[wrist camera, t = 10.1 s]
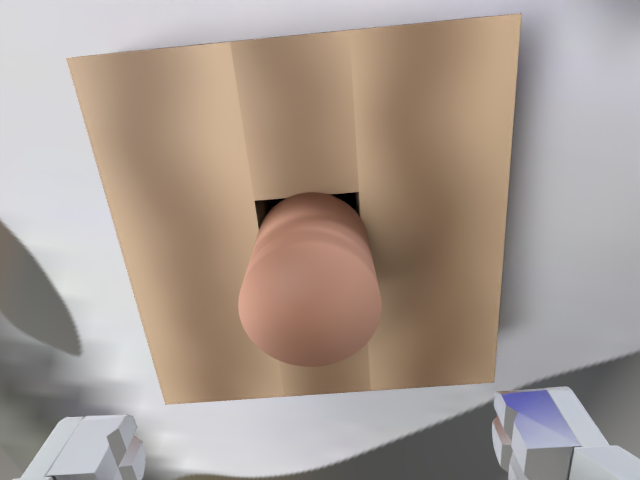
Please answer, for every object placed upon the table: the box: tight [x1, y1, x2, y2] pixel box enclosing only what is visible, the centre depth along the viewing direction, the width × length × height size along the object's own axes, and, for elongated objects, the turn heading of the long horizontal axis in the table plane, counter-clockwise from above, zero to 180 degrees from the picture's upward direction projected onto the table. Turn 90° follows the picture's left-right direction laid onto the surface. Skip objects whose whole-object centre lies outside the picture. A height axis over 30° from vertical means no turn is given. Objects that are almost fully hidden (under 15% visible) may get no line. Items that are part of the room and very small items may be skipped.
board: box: [66, 14, 521, 405], centre depth 22 cm, size 16×16×4 cm
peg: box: [238, 192, 382, 367], centre depth 19 cm, size 5×5×8 cm
